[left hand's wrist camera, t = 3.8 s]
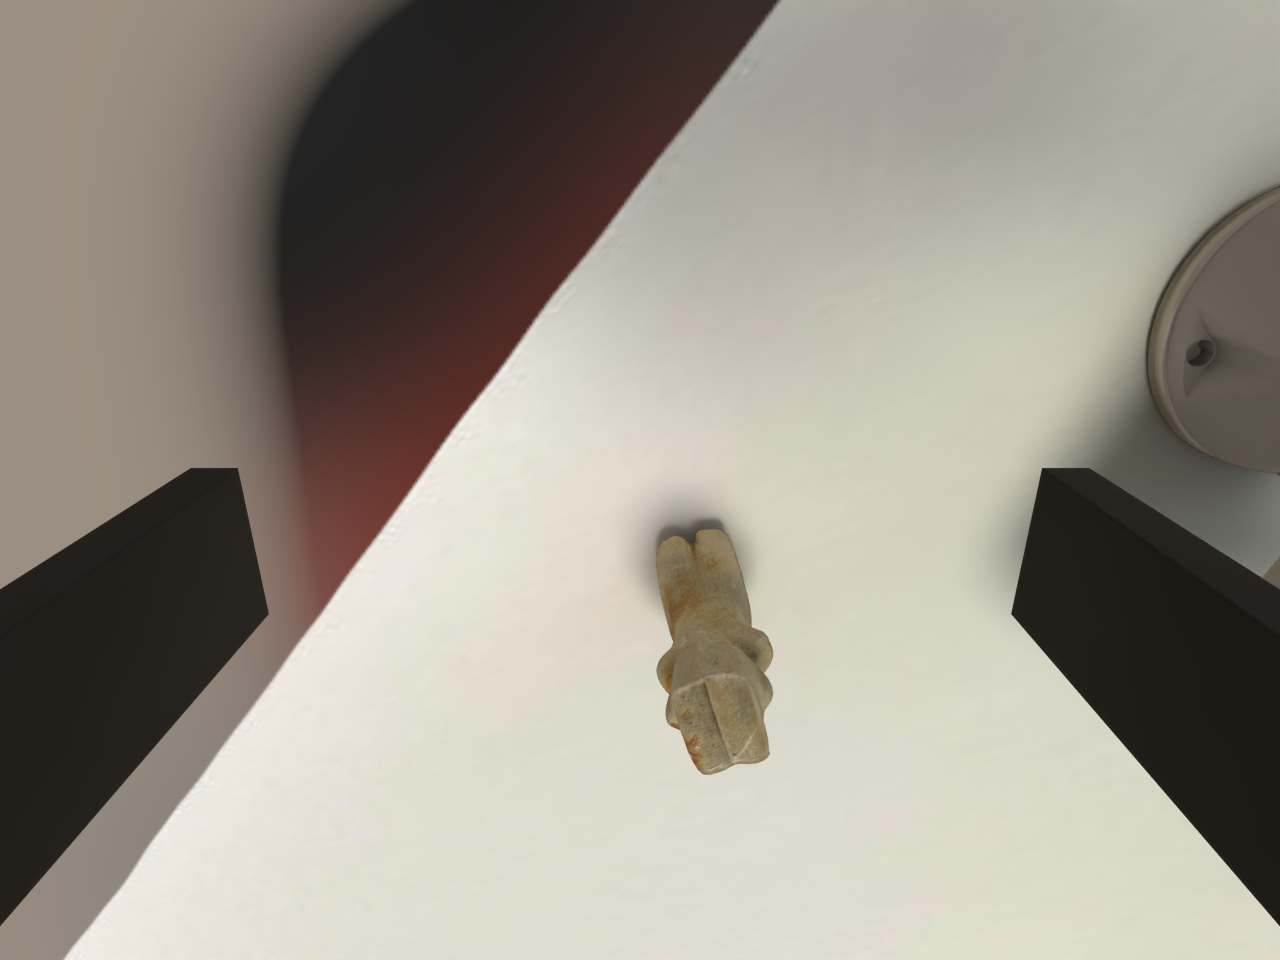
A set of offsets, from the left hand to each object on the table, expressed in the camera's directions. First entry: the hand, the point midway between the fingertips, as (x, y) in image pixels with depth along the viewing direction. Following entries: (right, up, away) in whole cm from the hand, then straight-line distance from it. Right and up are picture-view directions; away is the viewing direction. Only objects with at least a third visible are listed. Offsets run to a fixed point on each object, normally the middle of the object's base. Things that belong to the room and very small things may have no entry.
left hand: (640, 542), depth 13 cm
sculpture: (+4, -5, +33) cm, 34 cm away
